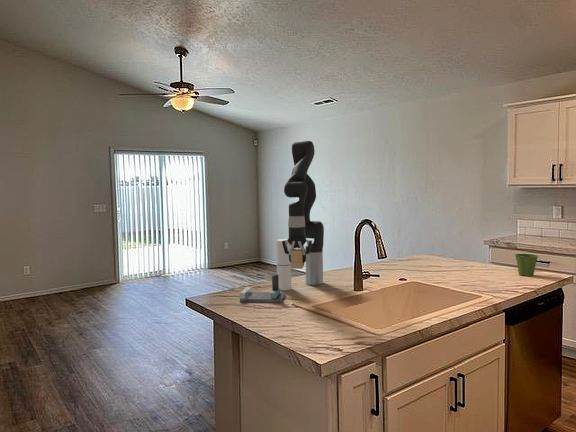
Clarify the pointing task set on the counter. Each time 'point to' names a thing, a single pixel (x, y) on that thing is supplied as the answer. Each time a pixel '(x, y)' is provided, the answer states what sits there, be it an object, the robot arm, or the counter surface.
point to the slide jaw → (275, 286)
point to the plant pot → (526, 264)
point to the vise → (259, 296)
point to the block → (297, 259)
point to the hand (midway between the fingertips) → (297, 262)
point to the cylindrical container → (283, 265)
